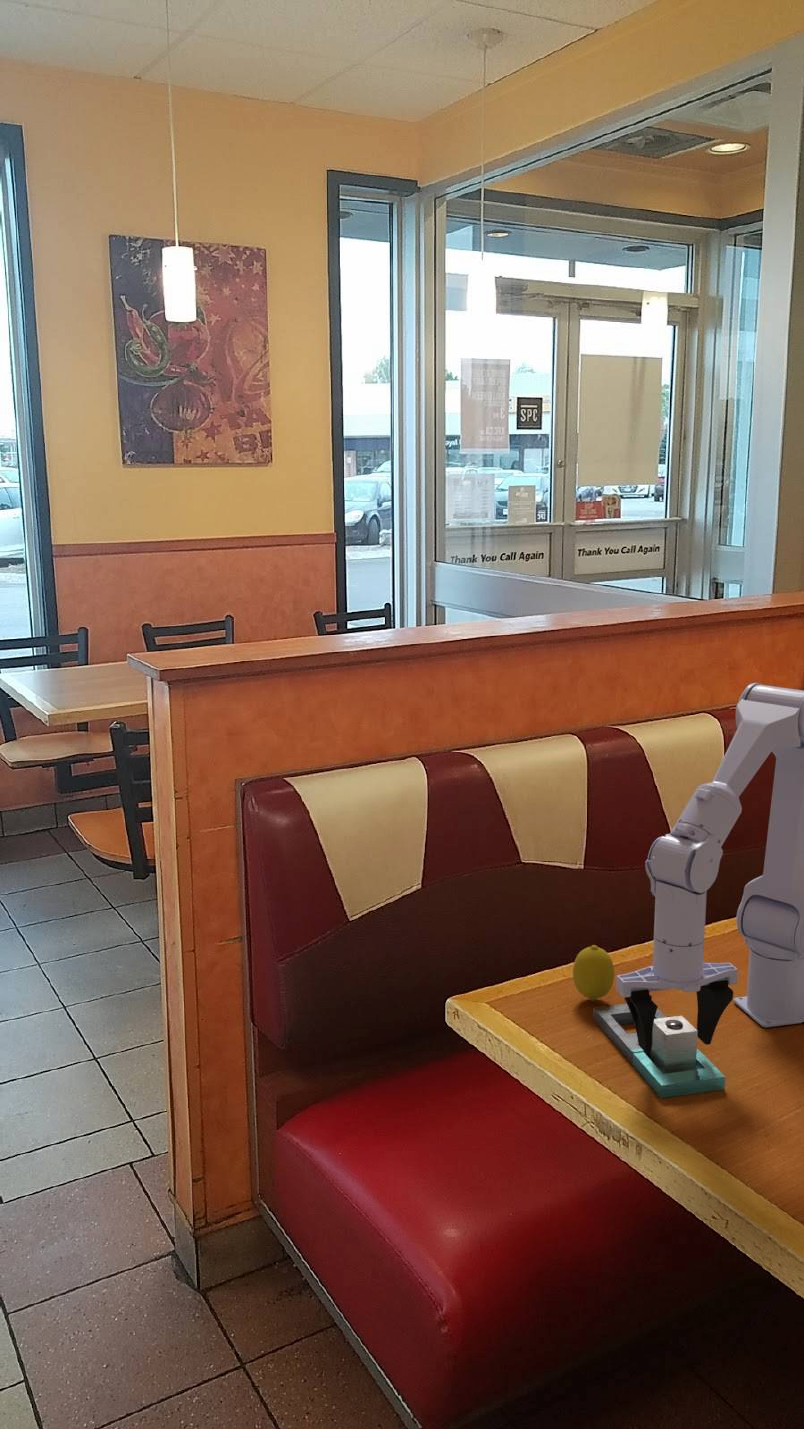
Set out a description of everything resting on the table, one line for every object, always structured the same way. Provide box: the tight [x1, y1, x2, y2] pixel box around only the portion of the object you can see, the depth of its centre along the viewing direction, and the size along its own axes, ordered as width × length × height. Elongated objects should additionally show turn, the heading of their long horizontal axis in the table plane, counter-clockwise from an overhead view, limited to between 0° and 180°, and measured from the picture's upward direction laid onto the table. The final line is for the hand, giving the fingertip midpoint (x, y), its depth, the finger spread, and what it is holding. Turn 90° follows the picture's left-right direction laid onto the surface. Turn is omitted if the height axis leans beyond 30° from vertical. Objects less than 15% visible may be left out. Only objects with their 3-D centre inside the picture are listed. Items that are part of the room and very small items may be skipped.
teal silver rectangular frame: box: [592, 1003, 726, 1099], centre depth 139 cm, size 8×20×2 cm, turn 13°
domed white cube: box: [650, 1015, 698, 1074], centre depth 134 cm, size 4×4×6 cm
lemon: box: [572, 944, 615, 1002], centre depth 153 cm, size 6×6×8 cm
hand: (674, 1044), depth 134 cm, fingers open, 7 cm apart
